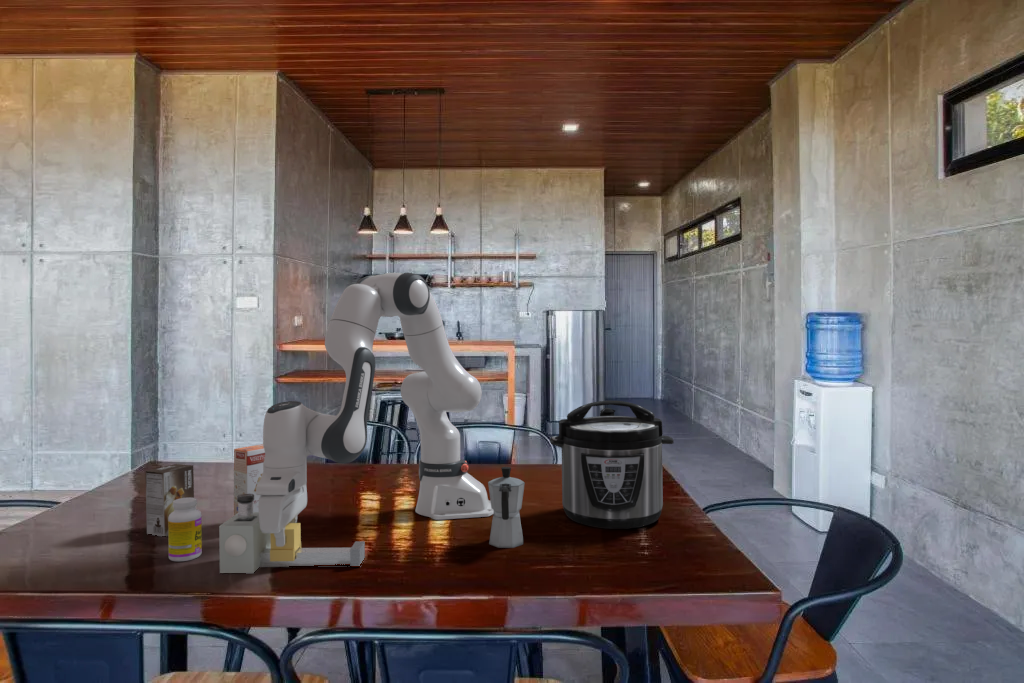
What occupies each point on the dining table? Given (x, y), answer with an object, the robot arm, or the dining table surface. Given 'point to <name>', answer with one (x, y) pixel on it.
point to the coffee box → (166, 494)
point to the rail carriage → (291, 543)
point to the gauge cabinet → (241, 545)
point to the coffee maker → (506, 510)
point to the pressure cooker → (612, 466)
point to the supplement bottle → (184, 530)
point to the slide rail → (319, 556)
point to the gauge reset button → (245, 507)
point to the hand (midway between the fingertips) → (285, 540)
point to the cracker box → (248, 472)
